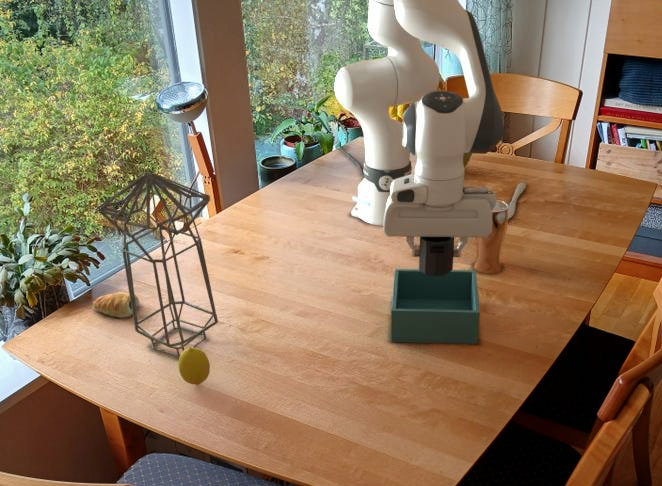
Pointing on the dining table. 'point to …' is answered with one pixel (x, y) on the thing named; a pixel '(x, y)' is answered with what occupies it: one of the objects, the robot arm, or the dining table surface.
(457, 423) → the dining table surface
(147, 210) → the geometric lantern
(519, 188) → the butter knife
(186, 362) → the lemon
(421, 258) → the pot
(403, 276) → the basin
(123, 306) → the pastry
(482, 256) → the beer glass
